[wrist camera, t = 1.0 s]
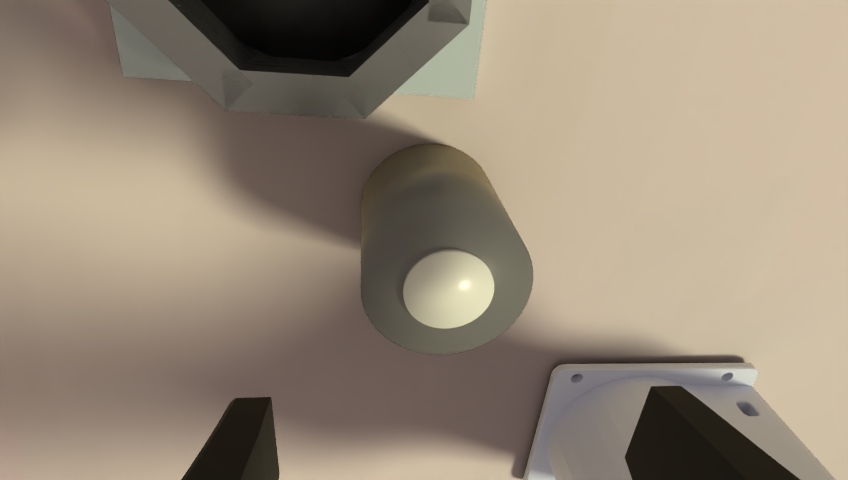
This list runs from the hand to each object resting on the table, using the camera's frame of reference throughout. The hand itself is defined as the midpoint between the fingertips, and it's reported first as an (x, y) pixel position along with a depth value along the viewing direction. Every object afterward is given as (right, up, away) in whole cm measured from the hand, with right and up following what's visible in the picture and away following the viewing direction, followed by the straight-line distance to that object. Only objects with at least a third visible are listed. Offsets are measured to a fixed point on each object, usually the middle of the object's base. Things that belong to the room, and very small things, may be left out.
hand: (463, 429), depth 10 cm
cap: (-1, +5, +8) cm, 10 cm away
